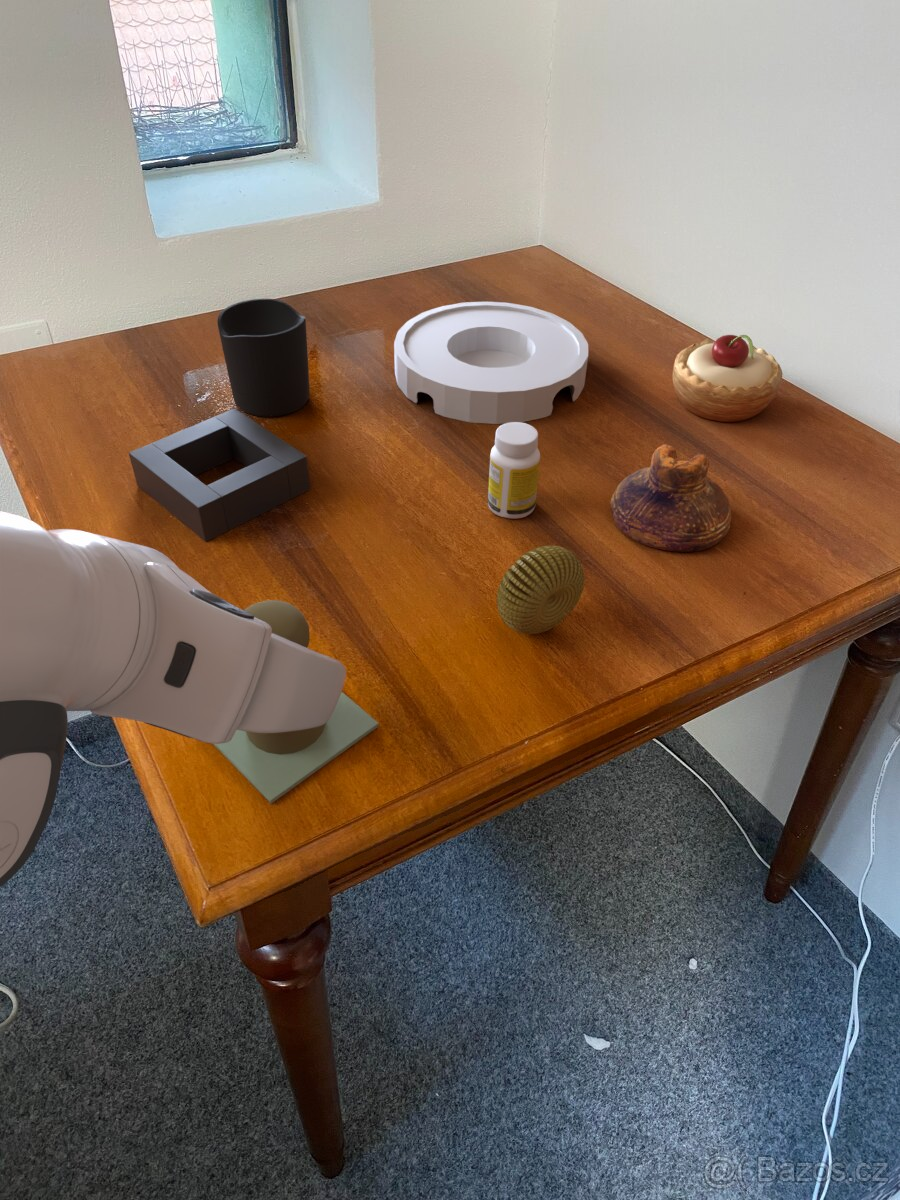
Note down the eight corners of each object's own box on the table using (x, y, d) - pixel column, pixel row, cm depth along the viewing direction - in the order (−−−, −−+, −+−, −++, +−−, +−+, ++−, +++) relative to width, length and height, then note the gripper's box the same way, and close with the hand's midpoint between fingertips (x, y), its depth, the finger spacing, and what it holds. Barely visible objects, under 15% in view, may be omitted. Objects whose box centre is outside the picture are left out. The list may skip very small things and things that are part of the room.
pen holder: (320, 381, 105) (313, 301, 98) (303, 423, 98) (294, 339, 91) (243, 376, 105) (231, 296, 98) (220, 417, 98) (205, 333, 92)
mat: (271, 804, 61) (270, 800, 61) (192, 723, 66) (191, 719, 66) (379, 726, 66) (378, 723, 66) (298, 657, 71) (297, 653, 71)
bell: (584, 509, 87) (593, 447, 82) (666, 469, 92) (680, 408, 87) (672, 572, 80) (689, 508, 75) (755, 524, 86) (776, 462, 81)
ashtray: (571, 331, 116) (575, 301, 113) (598, 424, 99) (603, 392, 96) (396, 330, 115) (395, 300, 112) (393, 423, 98) (392, 392, 95)
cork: (321, 755, 64) (307, 650, 56) (238, 753, 64) (213, 648, 56) (330, 692, 68) (318, 587, 61) (253, 691, 68) (231, 585, 61)
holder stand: (205, 542, 82) (198, 507, 79) (137, 486, 88) (128, 452, 86) (310, 489, 89) (307, 456, 86) (239, 440, 95) (234, 408, 92)
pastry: (717, 368, 109) (734, 299, 103) (792, 409, 102) (815, 338, 96) (646, 394, 104) (660, 323, 98) (721, 439, 97) (740, 366, 91)
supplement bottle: (542, 499, 88) (550, 427, 82) (524, 525, 85) (532, 451, 79) (498, 487, 90) (503, 414, 84) (479, 512, 86) (483, 438, 81)
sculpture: (558, 594, 78) (568, 523, 72) (587, 621, 75) (600, 549, 70) (484, 628, 74) (489, 556, 69) (513, 657, 72) (520, 584, 66)
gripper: (-56, 611, 49) (113, 629, 62) (240, 759, 42) (359, 743, 55) (-16, 505, 48) (144, 545, 61) (286, 636, 42) (395, 649, 55)
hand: (248, 639), depth 58 cm, fingers open, 8 cm apart
